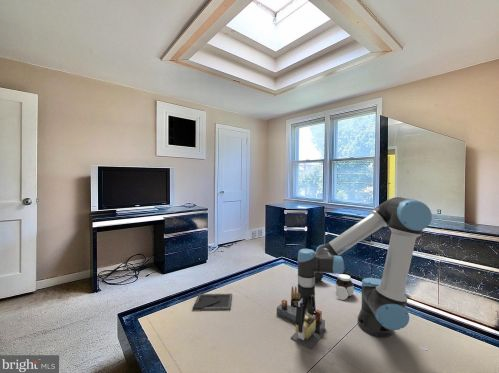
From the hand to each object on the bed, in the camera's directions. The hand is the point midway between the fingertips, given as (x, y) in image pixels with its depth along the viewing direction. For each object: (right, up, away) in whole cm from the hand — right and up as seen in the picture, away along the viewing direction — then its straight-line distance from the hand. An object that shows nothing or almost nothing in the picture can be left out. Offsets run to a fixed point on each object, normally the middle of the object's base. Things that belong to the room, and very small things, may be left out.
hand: (305, 333), depth 103 cm
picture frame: (-47, -2, +30) cm, 56 cm away
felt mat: (0, -2, 0) cm, 2 cm away
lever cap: (0, +1, 0) cm, 1 cm away
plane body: (0, -2, +12) cm, 12 cm away
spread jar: (+33, -1, +37) cm, 49 cm away
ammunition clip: (+3, -2, +25) cm, 25 cm away
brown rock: (+18, 0, +58) cm, 60 cm away
